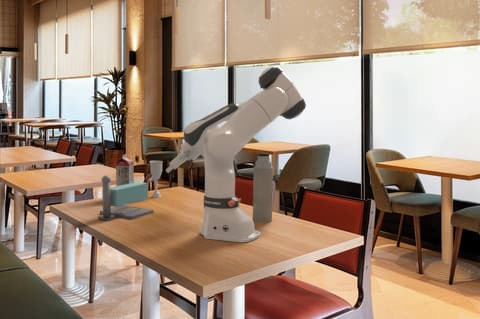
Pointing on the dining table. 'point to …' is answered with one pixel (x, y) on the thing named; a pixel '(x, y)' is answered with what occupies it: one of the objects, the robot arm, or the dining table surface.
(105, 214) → the block
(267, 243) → the dining table surface
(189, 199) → the dining table surface
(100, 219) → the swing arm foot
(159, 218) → the dining table surface
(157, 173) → the chalice
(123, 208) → the grey flat rectangular block
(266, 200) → the thermos bottle
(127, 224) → the dining table surface
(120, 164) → the white tall printed box
